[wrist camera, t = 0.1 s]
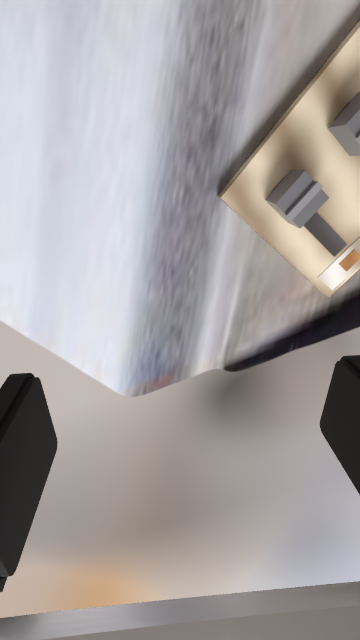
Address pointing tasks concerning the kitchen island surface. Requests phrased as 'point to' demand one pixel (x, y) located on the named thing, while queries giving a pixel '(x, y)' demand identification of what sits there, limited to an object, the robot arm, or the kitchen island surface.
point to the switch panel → (321, 164)
